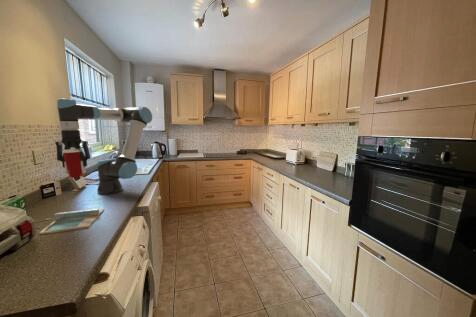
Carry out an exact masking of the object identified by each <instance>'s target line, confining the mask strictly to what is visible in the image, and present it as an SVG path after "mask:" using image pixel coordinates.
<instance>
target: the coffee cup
mask: <svg viewBox="0 0 476 317" xmlns="http://www.w3.org/2000/svg"><path fill="white" fill-rule="evenodd" d="M81 149H82V148H81ZM81 149H75V148H70V149H66V150H64V149H62V154H63V153H64V158H65V162H66V166H67V170H68V174H67V175H68V178H70V179H77V178H81V177H84V173H82V168H81V161H82V159H81V157H80V152H81Z"/></svg>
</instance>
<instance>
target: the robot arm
mask: <svg viewBox="0 0 476 317" xmlns="http://www.w3.org/2000/svg"><path fill="white" fill-rule="evenodd" d="M56 101H57V102H56V103H57V104H56V106H57V113H58V119H59V124H60V126H59V127H60V130H61V131H60V133H61V134H60V135H61V140H60V141H55V142H54V143H55V146H56V160H57V162H58V161H59V162H62V168H64V170H65V174H66V175H69V174H68V170H67V166H66V162H65V158H64V153H62V152H63V150H66V149H72V148H75V149H81V152H80V157H81V159H82V161H81V168H82V173H83V174H85V173H86V172H87V169H86V167H87V166H88V162H87V161H88V160H90V159H91V155H90V154H91V153H90V150H89V149H90V148H89V146H88V145H89V141H88V140H82V138H81V132H80V122H79V120H90V121H91V120H94V121H95V120H98V121H100V120H101V121H103V120H104V121H115V122H120V123H121V122H122V123H129V124H130V126H129V128H128V132H127V135H126V138H125V141H124V144H123V147H122V149H121V154H120V155H118V156H117V157H115V158H107V159H102V160H101V159H100V160H98V161H97V162H96V165H97V166H96V168H97V173H98V174H97V175H98V180H99V181H98V186H97V189H96V190H97V191H96V192H97V194H98V195H111V194H117V193H120V192H121V191H123V184H122V183H121V181H120V179H121V180H123V179H126V180H128V179H132V178H133V177H135V176H136V174H137V172H138V165H137V161H136V159H135V158H136V153H137V150H138V147H139V144H140V141H141V137H142V135H143V131H144V129H145V128H146V127H147V126H148V124H149V123H151V122H152V120H153V114H152V112H151V110H150V109H149V108H148V107H145V106H133V107H132V106H130V107H129V106H128V107H115V108H104V107H103V108H101V107H98V106H96V105H89V104H88V105H87V104H78V102H77V101H76V100H75V99H71V98H58V99H57V100H56ZM81 144H82V147H83V150H82V147H81ZM63 145H64V149H63Z"/></svg>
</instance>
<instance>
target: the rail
mask: <svg viewBox="0 0 476 317" xmlns="http://www.w3.org/2000/svg"><path fill="white" fill-rule="evenodd" d="M99 210H100V209H99V208H94V209H93V208H92V209H84V210H73V211H65V212H56V213H54V218H55V219H54V221H55V220H62V219H71V218H80V217H89V216H98V215H99Z"/></svg>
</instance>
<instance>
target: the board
mask: <svg viewBox="0 0 476 317" xmlns="http://www.w3.org/2000/svg"><path fill="white" fill-rule="evenodd" d="M104 211H105V209H99V215H98V216H89V217H80V218H71V219H62V220H55V219H54V221H53V222H51V223H50V224H48V225H47V226H46V227H45V228H43V229H42V230H41V231H39V232H38V234H39V235H46V234H54V233H62V232H70V231H77V230H78V231H79V230H86V229H90V227H91V226H92V225H93V224H94V222H95V221H97V219H98V218H100V216H101V215H102V213H103V212H104Z"/></svg>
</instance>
